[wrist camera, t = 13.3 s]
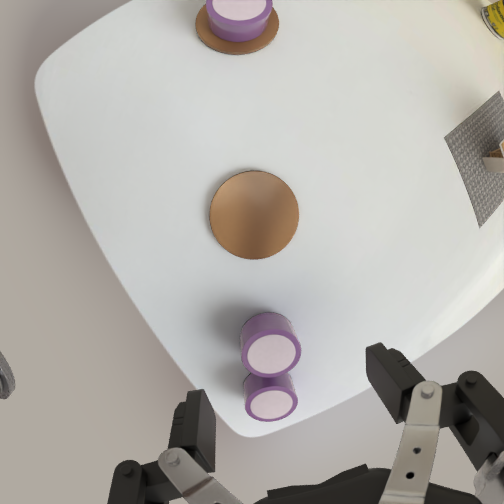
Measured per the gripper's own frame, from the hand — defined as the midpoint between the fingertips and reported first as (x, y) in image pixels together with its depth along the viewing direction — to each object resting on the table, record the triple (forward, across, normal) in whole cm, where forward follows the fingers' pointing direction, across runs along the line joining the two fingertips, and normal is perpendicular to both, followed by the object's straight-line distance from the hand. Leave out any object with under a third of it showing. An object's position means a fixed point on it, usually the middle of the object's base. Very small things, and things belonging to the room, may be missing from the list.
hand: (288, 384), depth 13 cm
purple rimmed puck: (+12, +2, +11) cm, 16 cm away
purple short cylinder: (+12, -3, -23) cm, 26 cm away
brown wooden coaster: (+12, -1, -6) cm, 14 cm away
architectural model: (+12, -30, -8) cm, 34 cm away
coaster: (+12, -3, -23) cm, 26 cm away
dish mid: (+12, 0, +5) cm, 13 cm away
